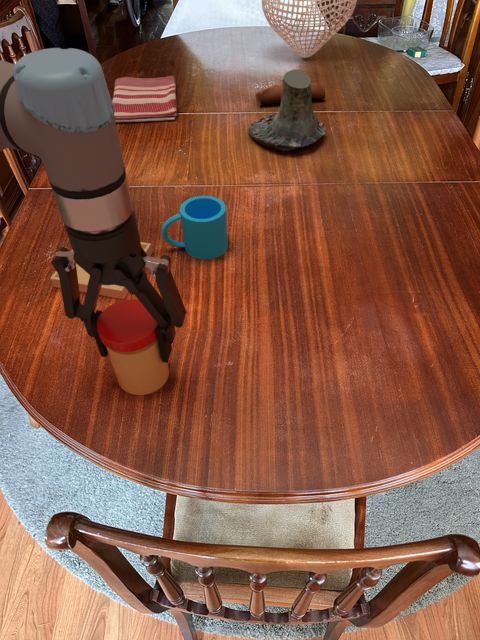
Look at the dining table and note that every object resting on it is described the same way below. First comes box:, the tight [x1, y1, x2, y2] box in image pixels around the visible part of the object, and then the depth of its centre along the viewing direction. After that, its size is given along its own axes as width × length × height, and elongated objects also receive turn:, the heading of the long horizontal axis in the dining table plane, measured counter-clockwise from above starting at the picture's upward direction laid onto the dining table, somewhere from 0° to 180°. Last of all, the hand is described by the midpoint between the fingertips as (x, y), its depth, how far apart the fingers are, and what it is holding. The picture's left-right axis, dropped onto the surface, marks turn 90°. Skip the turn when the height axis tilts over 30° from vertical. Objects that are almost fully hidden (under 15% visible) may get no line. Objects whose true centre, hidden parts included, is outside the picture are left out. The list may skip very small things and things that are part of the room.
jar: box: [106, 339, 170, 396], centre depth 72 cm, size 8×8×10 cm
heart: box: [261, 0, 357, 58], centre depth 150 cm, size 28×16×22 cm, turn 102°
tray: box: [49, 241, 153, 300], centre depth 91 cm, size 13×13×2 cm
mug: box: [161, 195, 229, 260], centre depth 93 cm, size 12×8×8 cm
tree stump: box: [248, 69, 327, 152], centre depth 119 cm, size 18×20×18 cm
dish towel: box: [112, 75, 178, 124], centre depth 135 cm, size 17×23×3 cm
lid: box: [97, 298, 158, 352], centre depth 67 cm, size 8×8×2 cm
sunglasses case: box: [255, 82, 326, 107], centre depth 137 cm, size 18×7×7 cm
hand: (137, 352), depth 72 cm, fingers closed on lid, 8 cm apart
